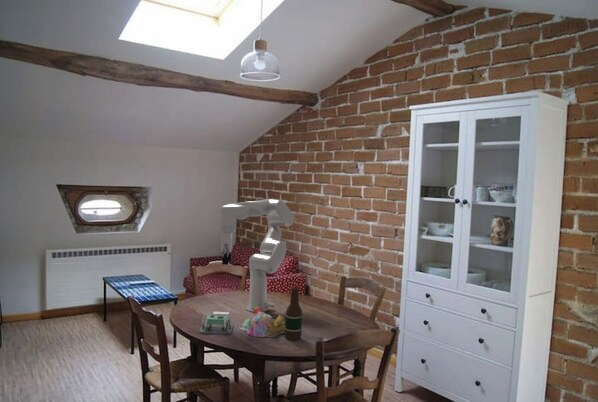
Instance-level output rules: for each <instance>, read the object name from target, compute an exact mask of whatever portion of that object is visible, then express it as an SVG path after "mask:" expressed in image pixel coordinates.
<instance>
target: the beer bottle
mask: <svg viewBox="0 0 598 402" xmlns="http://www.w3.org/2000/svg"><path fill="white" fill-rule="evenodd" d="M290 290H291V291H290V300H289V301H290V302H289V305H288V307H287V308H286V310H285V319H284V320H285V321H284V322H285V333H284V338H285V339H286V340H287V341H291V340H292V341H291V342H294V341H299V340H300V339H302V328H303V309H302V307H301V306H300V302H299V298H300V297H299V291H300V288H299V287H296V286H292V287H291V289H290Z"/></svg>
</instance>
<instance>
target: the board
mask: <svg viewBox="0 0 598 402" xmlns="http://www.w3.org/2000/svg"><path fill="white" fill-rule="evenodd" d="M205 317H206V318H205V320H207V324H223V325H224V320H226V324H227V322H228V323H229V320H228V316H215V315H213V314H210V315H208V314H207V315H206V316H205Z"/></svg>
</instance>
